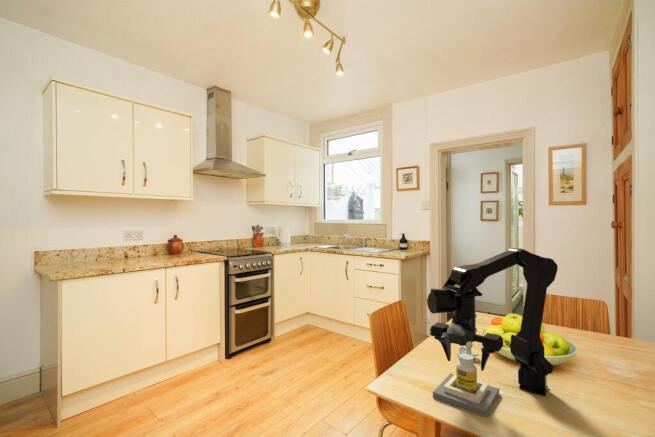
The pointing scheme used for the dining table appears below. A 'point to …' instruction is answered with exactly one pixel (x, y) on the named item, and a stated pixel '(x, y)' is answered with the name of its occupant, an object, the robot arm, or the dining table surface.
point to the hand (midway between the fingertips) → (465, 365)
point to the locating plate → (467, 396)
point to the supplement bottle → (466, 374)
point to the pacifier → (466, 349)
